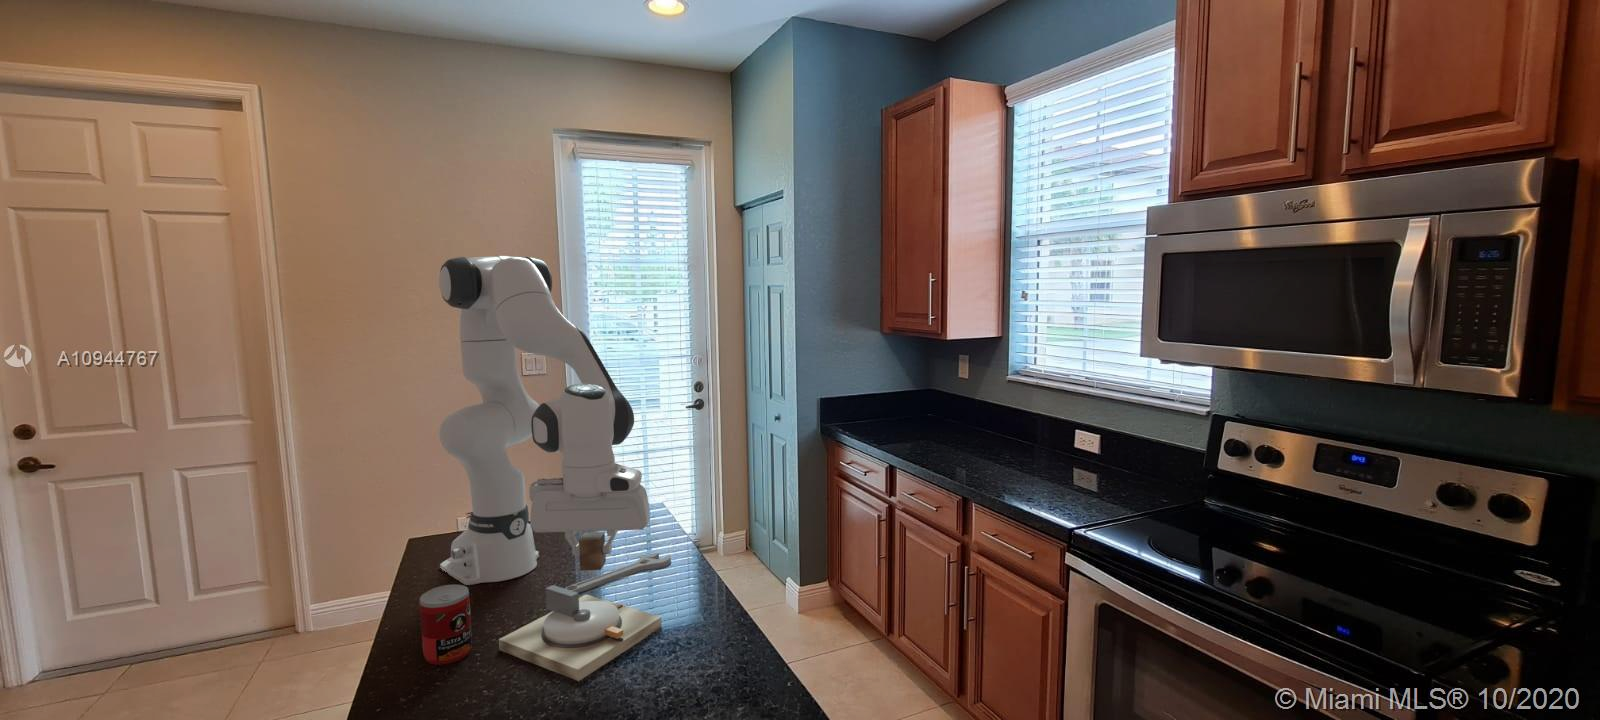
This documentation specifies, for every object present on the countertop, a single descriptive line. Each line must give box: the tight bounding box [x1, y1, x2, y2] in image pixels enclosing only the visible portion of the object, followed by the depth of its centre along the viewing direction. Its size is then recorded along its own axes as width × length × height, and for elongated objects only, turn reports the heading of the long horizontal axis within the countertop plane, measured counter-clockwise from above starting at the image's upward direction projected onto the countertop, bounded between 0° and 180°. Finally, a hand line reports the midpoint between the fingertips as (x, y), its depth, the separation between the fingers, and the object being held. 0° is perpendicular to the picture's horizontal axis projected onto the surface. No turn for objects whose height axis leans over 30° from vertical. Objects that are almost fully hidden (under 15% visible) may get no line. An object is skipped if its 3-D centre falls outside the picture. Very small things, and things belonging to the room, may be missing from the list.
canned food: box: [419, 584, 473, 665], centre depth 118 cm, size 8×8×11 cm
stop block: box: [578, 531, 607, 572], centre depth 119 cm, size 4×4×6 cm
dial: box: [544, 584, 623, 644], centre depth 122 cm, size 18×13×6 cm
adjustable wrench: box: [564, 552, 672, 594], centre depth 150 cm, size 25×6×2 cm, turn 131°
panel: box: [498, 594, 663, 682], centre depth 123 cm, size 20×20×2 cm
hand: (592, 553), depth 119 cm, fingers closed on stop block, 4 cm apart
